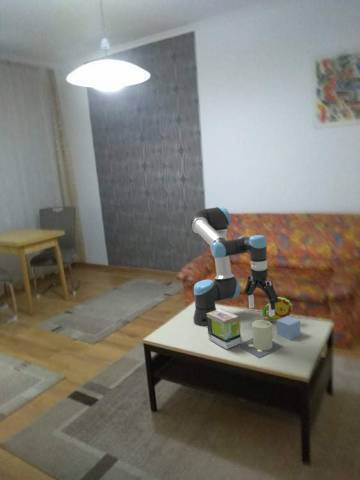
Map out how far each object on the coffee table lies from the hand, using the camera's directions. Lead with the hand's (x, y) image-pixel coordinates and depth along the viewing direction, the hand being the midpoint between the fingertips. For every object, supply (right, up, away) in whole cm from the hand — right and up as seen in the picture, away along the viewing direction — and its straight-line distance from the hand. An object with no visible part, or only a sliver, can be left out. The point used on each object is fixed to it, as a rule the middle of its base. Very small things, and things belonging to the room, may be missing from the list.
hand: (261, 311), depth 172 cm
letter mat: (0, -18, +4) cm, 18 cm away
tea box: (-16, -18, +12) cm, 27 cm away
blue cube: (+17, -15, +13) cm, 26 cm away
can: (+2, -18, +4) cm, 18 cm away
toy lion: (+15, -12, +27) cm, 33 cm away
